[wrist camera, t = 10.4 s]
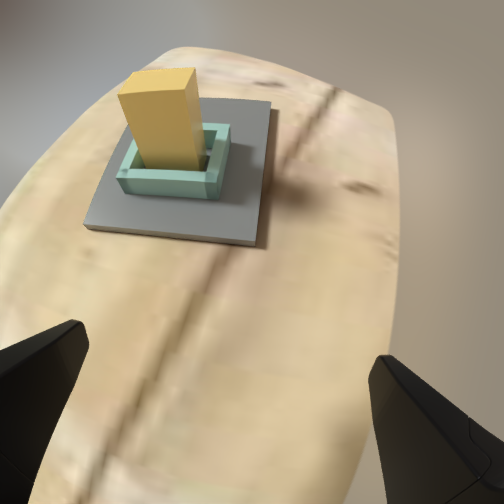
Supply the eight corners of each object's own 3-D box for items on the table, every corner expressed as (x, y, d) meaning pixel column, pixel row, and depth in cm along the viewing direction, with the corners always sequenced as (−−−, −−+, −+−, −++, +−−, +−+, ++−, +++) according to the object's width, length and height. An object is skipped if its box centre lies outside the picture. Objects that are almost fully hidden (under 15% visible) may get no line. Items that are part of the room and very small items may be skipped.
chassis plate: (254, 246, 24) (256, 226, 20) (87, 228, 24) (70, 210, 21) (270, 108, 31) (272, 84, 27) (144, 105, 31) (137, 84, 28)
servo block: (200, 179, 25) (184, 89, 16) (149, 177, 25) (117, 94, 16) (207, 155, 26) (195, 67, 17) (158, 153, 26) (132, 72, 17)
